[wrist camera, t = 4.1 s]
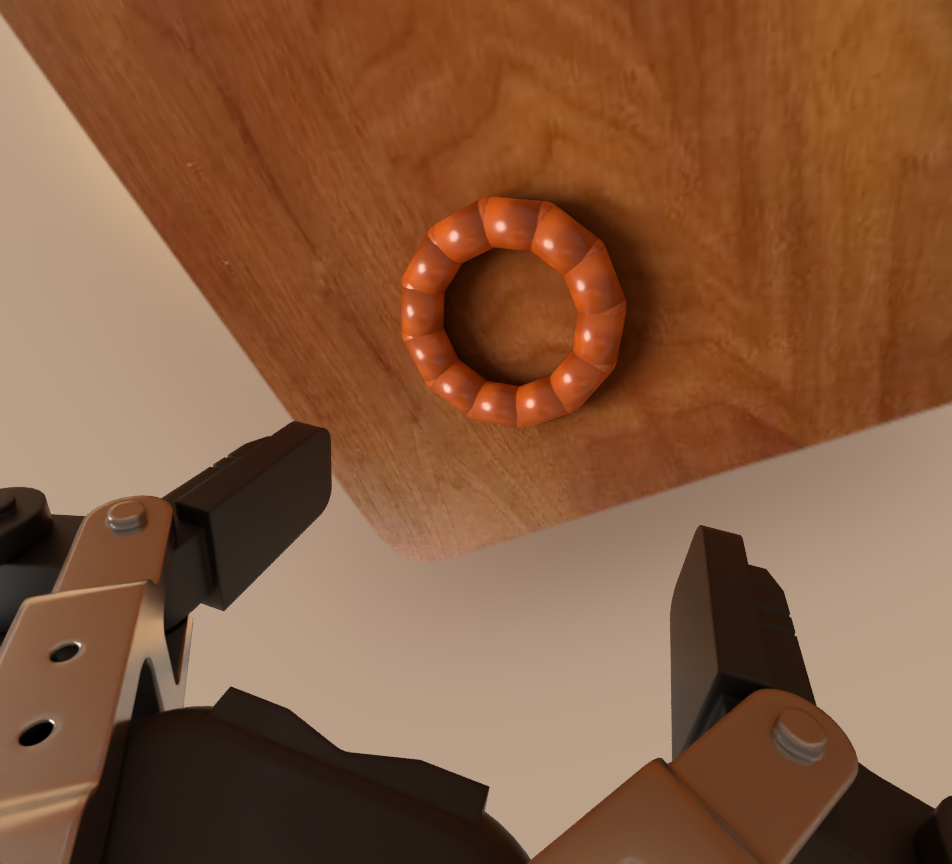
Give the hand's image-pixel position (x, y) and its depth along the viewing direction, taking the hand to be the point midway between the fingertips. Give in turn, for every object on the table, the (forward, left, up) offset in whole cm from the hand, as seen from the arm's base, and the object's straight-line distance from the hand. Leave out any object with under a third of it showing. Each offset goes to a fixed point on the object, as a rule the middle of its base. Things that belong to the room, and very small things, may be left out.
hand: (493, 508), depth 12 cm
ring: (+3, -1, -12) cm, 12 cm away
